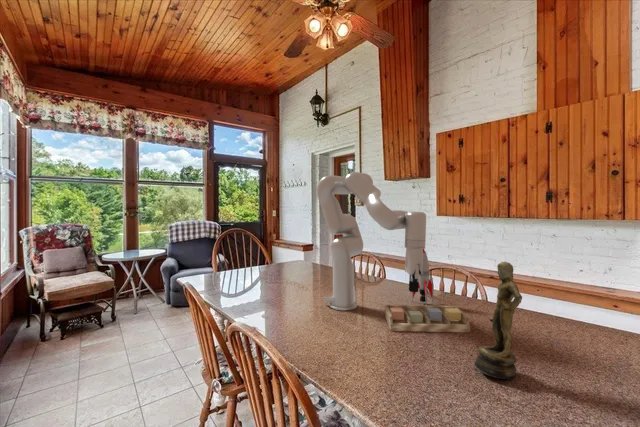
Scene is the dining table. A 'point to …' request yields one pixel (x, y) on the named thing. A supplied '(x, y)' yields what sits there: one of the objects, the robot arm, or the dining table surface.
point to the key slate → (434, 314)
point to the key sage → (415, 316)
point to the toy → (424, 281)
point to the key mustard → (453, 314)
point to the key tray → (426, 320)
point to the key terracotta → (397, 313)
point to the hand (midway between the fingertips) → (413, 291)
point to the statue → (498, 356)
